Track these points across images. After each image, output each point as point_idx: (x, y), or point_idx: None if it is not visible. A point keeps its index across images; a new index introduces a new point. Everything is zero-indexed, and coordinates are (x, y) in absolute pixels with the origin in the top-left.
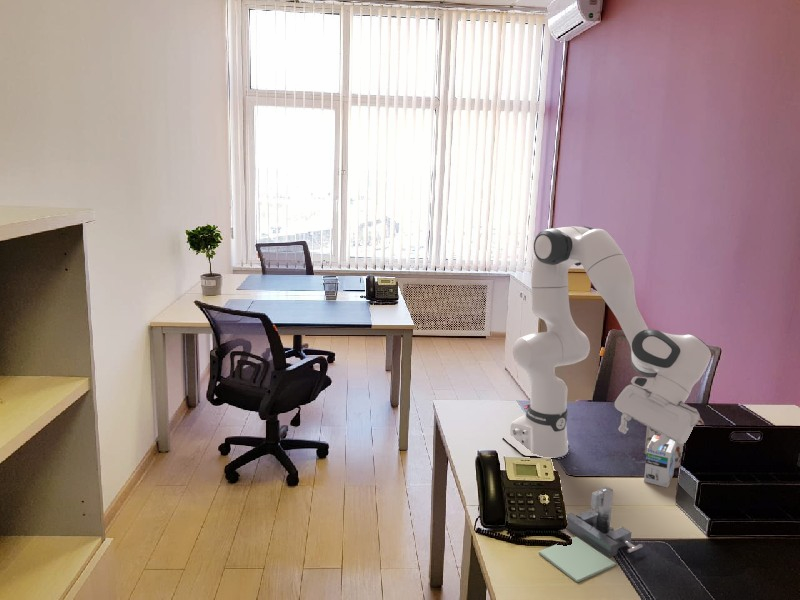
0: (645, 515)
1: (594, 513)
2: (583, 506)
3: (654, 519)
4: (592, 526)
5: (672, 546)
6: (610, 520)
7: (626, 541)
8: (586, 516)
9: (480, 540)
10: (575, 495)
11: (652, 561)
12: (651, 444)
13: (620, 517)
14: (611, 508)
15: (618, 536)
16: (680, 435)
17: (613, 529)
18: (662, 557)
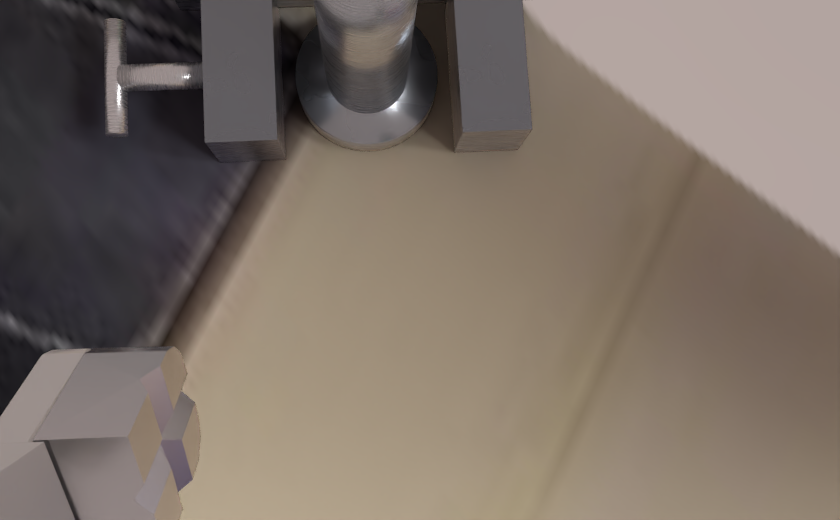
0: (400, 497)
1: (482, 93)
2: (656, 210)
3: (338, 513)
4: (425, 49)
5: None
6: (331, 71)
7: (176, 69)
8: (478, 22)
9: None
10: (784, 261)
11: (34, 137)
12: (109, 385)
13: (456, 327)
14: (323, 30)
15: (210, 30)
16: None
17: (341, 138)
18: (30, 219)
